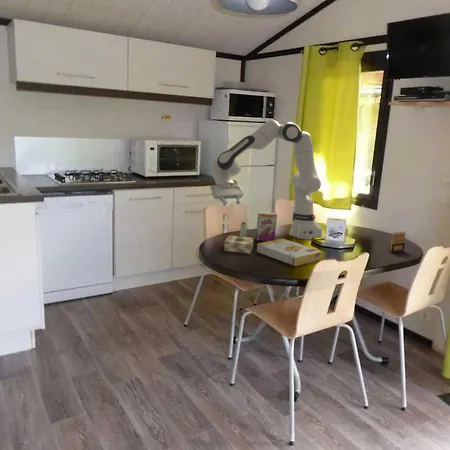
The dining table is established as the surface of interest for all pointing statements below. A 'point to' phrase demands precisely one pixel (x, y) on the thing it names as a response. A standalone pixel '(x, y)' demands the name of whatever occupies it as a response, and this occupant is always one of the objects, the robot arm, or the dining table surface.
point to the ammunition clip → (397, 242)
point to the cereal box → (289, 251)
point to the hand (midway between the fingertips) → (232, 203)
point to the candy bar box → (266, 226)
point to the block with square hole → (238, 244)
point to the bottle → (243, 229)
